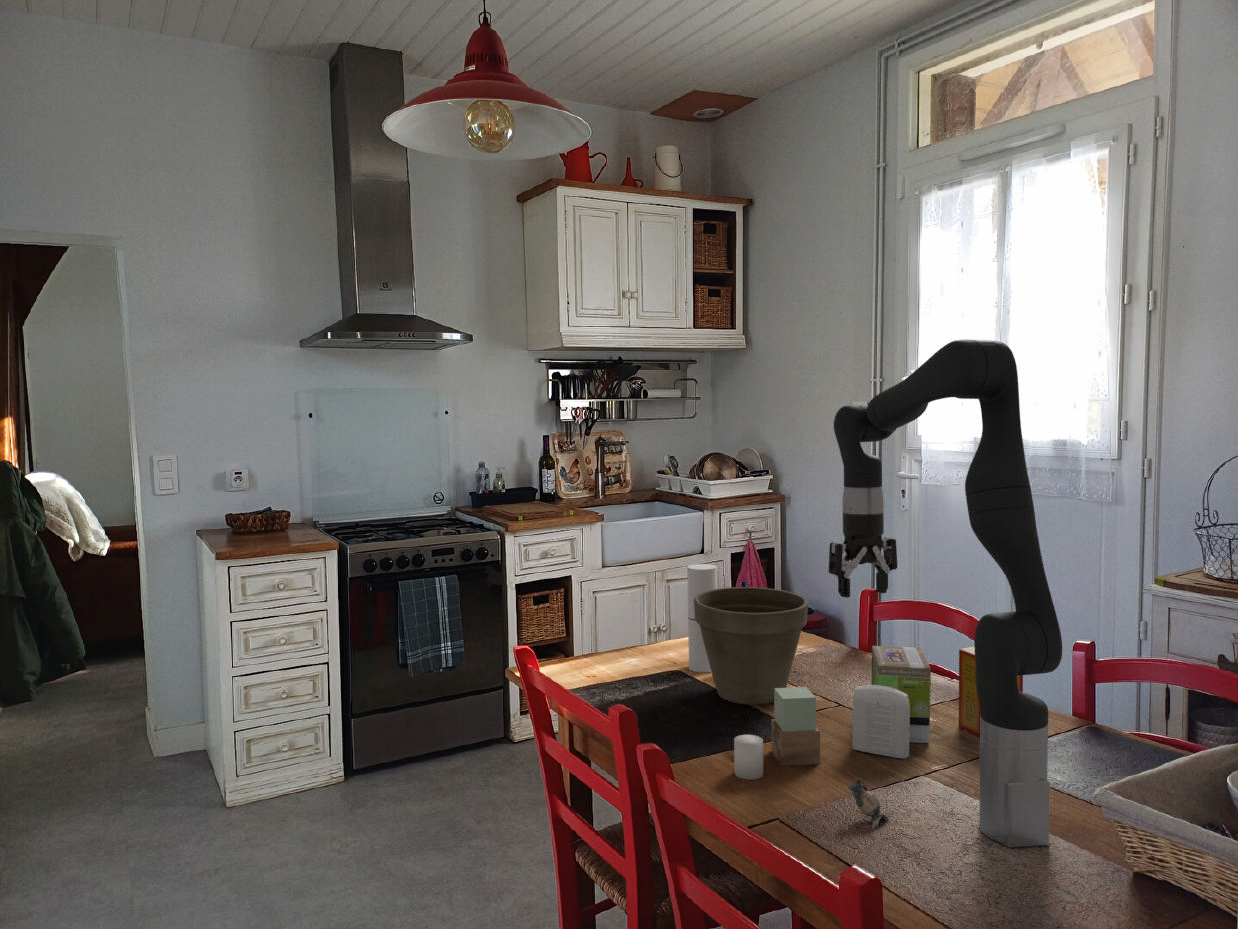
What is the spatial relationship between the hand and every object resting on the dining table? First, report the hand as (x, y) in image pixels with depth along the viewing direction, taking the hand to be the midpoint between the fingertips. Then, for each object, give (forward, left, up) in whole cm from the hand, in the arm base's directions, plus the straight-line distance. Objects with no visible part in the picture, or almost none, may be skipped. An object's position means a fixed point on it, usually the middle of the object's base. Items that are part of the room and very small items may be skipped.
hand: (863, 594), depth 171 cm
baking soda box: (0, -25, -28) cm, 38 cm away
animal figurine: (-33, +12, -28) cm, 45 cm away
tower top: (-8, +16, -22) cm, 28 cm away
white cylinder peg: (-14, +26, -28) cm, 40 cm away
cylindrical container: (+48, +23, -28) cm, 60 cm away
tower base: (-8, +16, -28) cm, 33 cm away
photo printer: (-8, 0, -28) cm, 29 cm away
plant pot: (+27, +16, -28) cm, 42 cm away
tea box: (+3, -8, -28) cm, 29 cm away
